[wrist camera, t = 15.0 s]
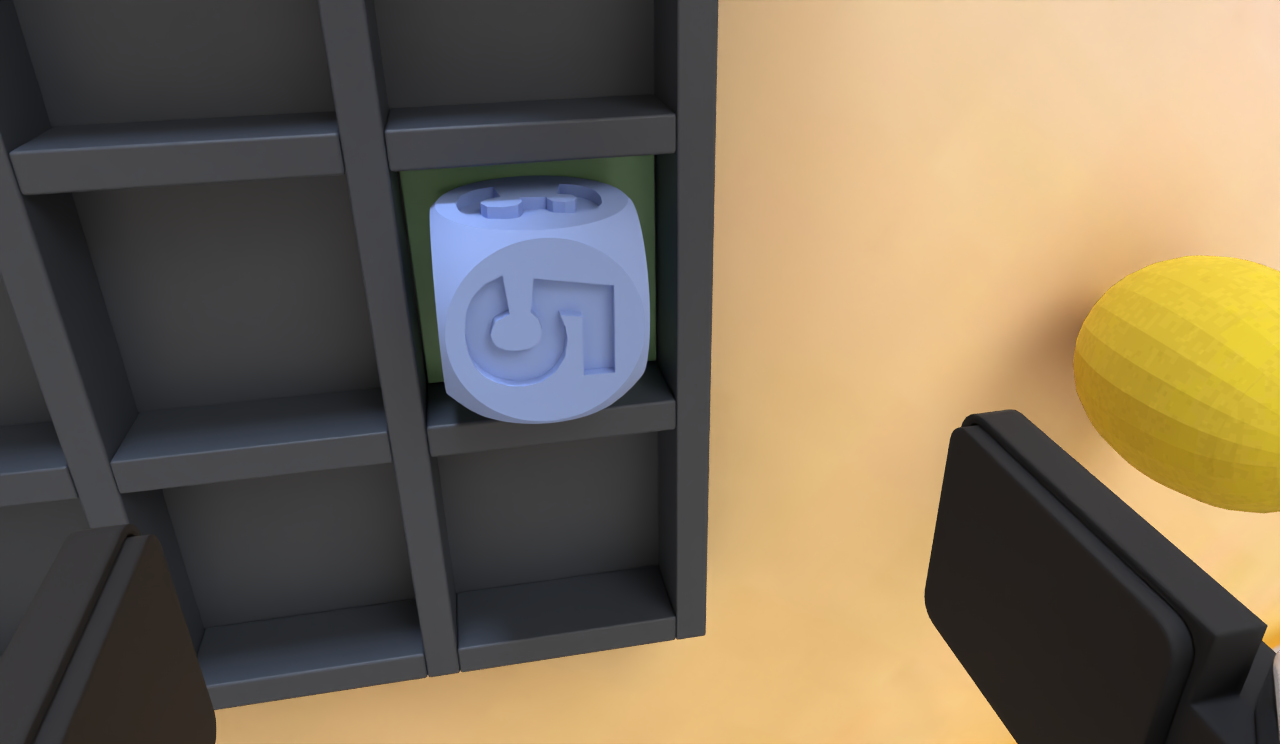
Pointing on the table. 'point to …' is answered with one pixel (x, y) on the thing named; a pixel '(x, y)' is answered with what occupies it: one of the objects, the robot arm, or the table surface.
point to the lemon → (1190, 377)
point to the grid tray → (343, 326)
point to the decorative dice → (539, 296)
